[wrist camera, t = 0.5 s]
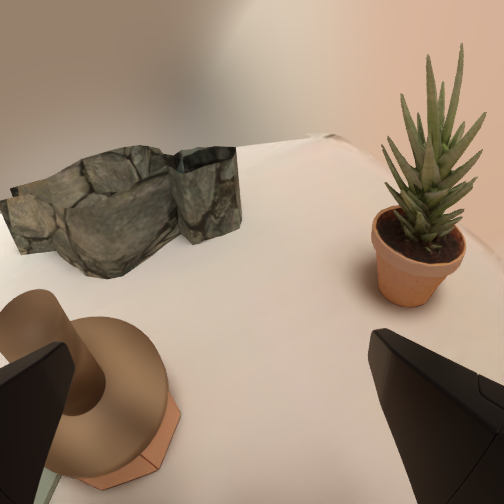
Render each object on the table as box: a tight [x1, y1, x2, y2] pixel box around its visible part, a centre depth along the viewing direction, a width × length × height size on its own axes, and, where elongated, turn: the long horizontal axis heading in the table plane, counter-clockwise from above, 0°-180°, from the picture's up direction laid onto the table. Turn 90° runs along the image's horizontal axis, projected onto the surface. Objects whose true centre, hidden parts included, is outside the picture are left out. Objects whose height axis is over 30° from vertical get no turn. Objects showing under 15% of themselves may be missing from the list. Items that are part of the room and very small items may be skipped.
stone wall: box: [0, 145, 242, 279], centre depth 40 cm, size 35×19×10 cm, turn 95°
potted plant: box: [371, 43, 486, 307], centre depth 24 cm, size 10×10×25 cm
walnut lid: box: [0, 289, 169, 479], centre depth 17 cm, size 13×13×8 cm
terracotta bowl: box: [77, 391, 181, 490], centre depth 20 cm, size 12×12×4 cm
